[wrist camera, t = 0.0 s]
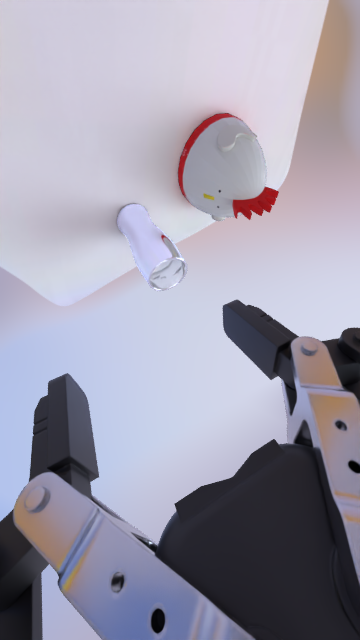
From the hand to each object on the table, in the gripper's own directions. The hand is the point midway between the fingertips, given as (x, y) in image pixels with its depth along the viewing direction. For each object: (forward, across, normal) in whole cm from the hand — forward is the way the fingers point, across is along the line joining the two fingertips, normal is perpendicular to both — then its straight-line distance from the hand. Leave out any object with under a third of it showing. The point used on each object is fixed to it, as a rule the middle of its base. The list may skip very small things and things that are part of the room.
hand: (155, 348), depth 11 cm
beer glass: (+35, -8, +3) cm, 36 cm away
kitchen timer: (+33, -24, -3) cm, 41 cm away
